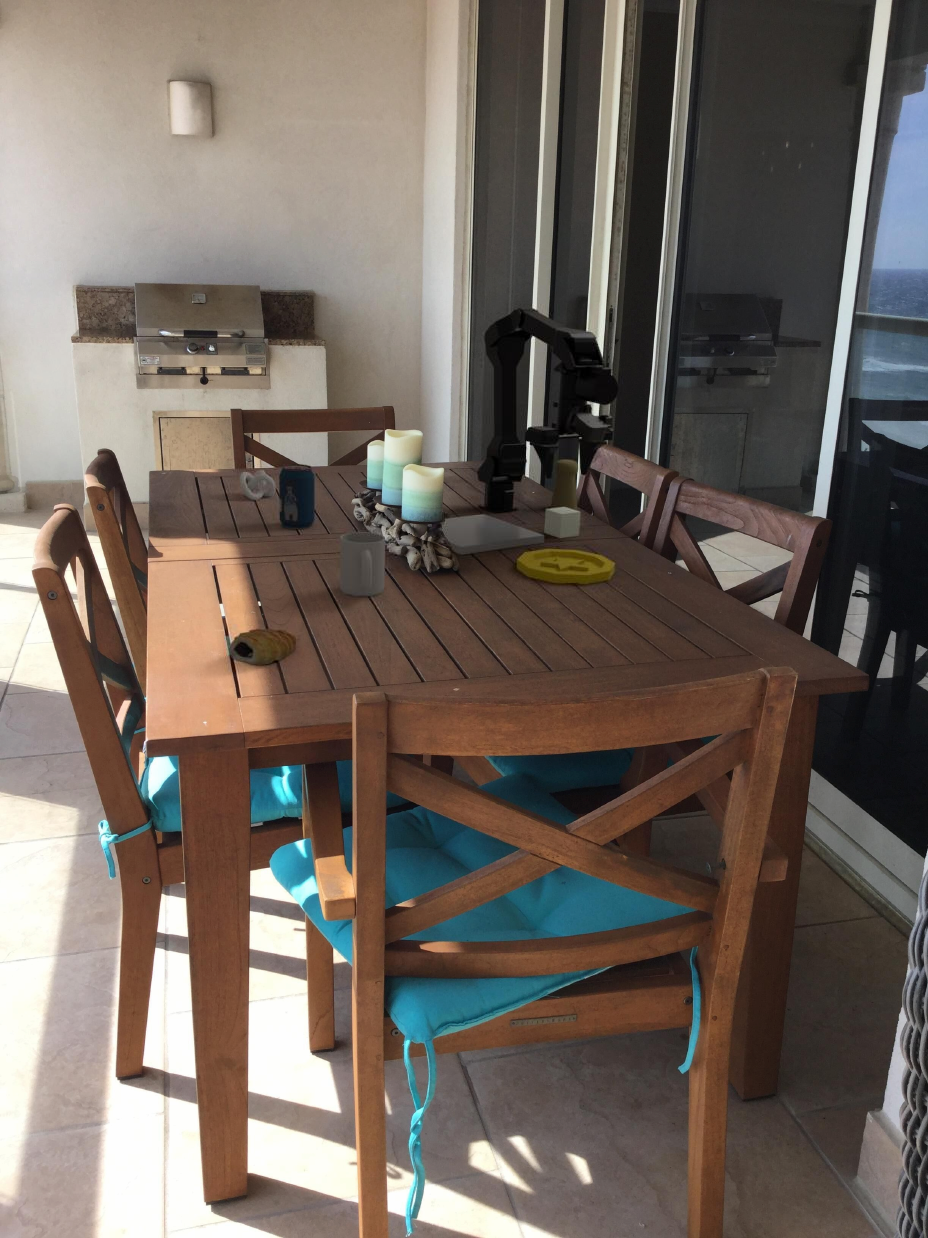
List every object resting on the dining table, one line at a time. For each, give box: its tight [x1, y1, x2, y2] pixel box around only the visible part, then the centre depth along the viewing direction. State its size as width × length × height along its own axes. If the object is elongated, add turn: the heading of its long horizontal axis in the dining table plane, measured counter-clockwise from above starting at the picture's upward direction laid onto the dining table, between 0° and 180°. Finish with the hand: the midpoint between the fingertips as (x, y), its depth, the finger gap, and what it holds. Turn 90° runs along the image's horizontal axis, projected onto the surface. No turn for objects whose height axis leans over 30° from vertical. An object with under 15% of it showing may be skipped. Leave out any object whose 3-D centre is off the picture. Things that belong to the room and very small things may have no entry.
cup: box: [339, 531, 386, 598], centre depth 169 cm, size 7×10×9 cm
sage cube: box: [543, 507, 582, 539], centre depth 213 cm, size 5×5×5 cm
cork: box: [549, 459, 579, 511], centre depth 235 cm, size 6×6×11 cm
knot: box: [238, 469, 277, 501], centre depth 233 cm, size 8×8×6 cm
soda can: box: [278, 463, 316, 530], centre depth 209 cm, size 7×7×12 cm
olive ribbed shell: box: [227, 628, 297, 666], centre depth 142 cm, size 9×7×4 cm
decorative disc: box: [516, 548, 616, 585], centre depth 188 cm, size 17×18×2 cm
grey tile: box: [442, 513, 545, 555], centre depth 208 cm, size 20×20×2 cm
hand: (566, 476), depth 210 cm, fingers open, 9 cm apart
